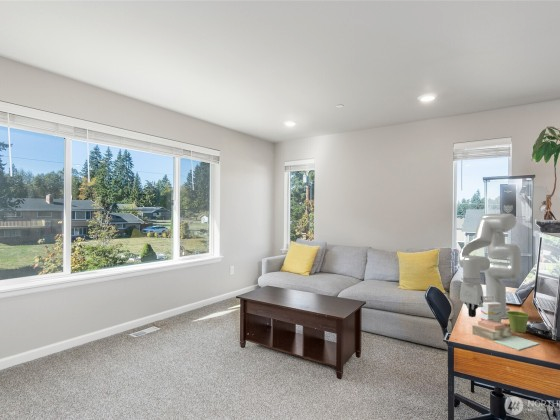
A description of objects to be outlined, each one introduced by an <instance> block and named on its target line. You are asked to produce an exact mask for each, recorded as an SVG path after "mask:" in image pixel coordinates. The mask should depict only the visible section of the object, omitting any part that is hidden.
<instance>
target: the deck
mask: <svg viewBox="0 0 560 420" xmlns="http://www.w3.org/2000/svg"><path fill="white" fill-rule="evenodd" d="M471 329H472V335H475V336H477V337H480V338H484V339H485V340H486V339H487V340H489V341H492V342H493V341H495V340H499V339H502V338H506V337H510V336H513V335H512V330H511V328H510V327H509V326H506V325H505V328H504V329H500V330H496V331H494V330H491V329H488V328H485V327H481V326H478V324H475V325H472V328H471Z"/></svg>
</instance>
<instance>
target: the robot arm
mask: <svg viewBox="0 0 560 420" xmlns="http://www.w3.org/2000/svg"><path fill="white" fill-rule="evenodd" d="M516 224H517V218H516V216H515V215H514V214H513V213H488V214H487V213H486V214H483V215H481V217H480V219H479V220H478V223H477V226H476V230H475V234H474V238H473V239H471V240H470V241H469V242H467V243H465V245H464V246H463V247H462V248H461V250H460V254H459V259H458V264H459V267H460V268H462V275H463V276H461V280H462V282H461V283H460V284H461V285H460V290H459V291H460V292H459V299H460V302H461V303H462V304H464V305H466V307H467V309H468V310H467V311H468V313H467V314H468V317H471V318H475V317H476V316H477V310H478V308H481V307H483V302H484V298H483V296H484V291H483V286H482V284H481V271H482V272H484V273H483V274H484V277H485V290H486V291H485V292H486V293H485V296H494V298H493V301H494V302H498V303H501V320H502V319H509V317H508V315H507V313H506V312H507V311H511V309H510V307H507V294H506V293H507V288H506V284H505V283H504V281H503V280H511V281H517V280H519V279H520V278H521V270H522V269H521V266H522V265H521V263H522V261H521V257H522V256H521V254H522V253H521V248H520V247H519V245H516V244H514V243H512V244H511V243H506V235H505V233H507V232H509V231H511V230H512V229H514V228H515V226H517V225H516ZM485 247H487V257H486V256H482V255H470V254H471V253H472V252H474V251H477V250H479V249H482V248H485ZM489 258H490V259H492V261H491V260H490V259H489ZM493 260H496V261H493ZM497 260H499V261H497ZM502 261H503V262H502ZM504 261H508V262H504ZM502 279H503V280H502ZM485 299H490V298H485Z"/></svg>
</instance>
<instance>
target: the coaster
mask: <svg viewBox="0 0 560 420" xmlns="http://www.w3.org/2000/svg"><path fill="white" fill-rule="evenodd" d="M477 325H478V326H481V327H485V328H488V329H491V330H494V331H496V330H500V329H504V328H505V326H506V323H503V322H501V323H500V322H496V321H493V320H489V319H487V320H483V321H481V320H479V321H477Z"/></svg>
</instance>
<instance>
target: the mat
mask: <svg viewBox="0 0 560 420" xmlns="http://www.w3.org/2000/svg"><path fill="white" fill-rule="evenodd" d="M492 342H493V343H496V344H498V345H502V346H504V347H507V348H510V349H513V350H516V351H521V350H525V349H528V348H531V347H534V346H538V345H540V343H539V342H536V341H533V340H529V339H526V338H524V337H520V336H517V335H512V336H510V337H506V338H502V339H499V340H495V341H492Z"/></svg>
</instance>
